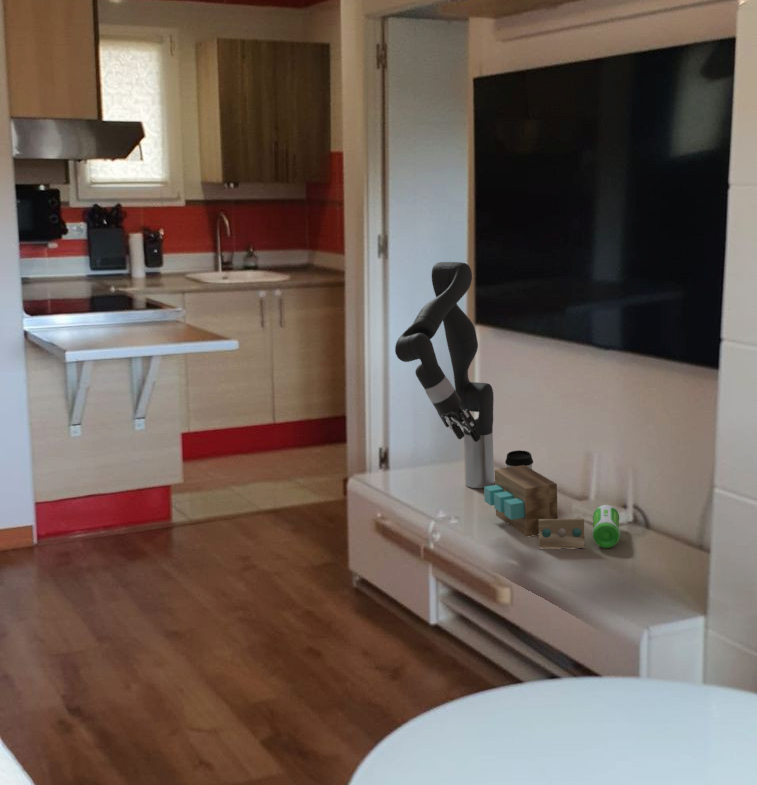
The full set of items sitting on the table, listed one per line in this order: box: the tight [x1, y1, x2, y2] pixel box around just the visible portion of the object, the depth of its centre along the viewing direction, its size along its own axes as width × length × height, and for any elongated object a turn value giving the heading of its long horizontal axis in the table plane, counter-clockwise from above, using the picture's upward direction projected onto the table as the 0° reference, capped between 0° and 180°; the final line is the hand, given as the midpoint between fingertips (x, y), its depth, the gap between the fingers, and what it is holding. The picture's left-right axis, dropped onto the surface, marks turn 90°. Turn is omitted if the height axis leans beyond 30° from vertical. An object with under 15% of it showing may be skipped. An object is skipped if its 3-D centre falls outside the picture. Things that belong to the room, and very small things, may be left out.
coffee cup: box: [505, 449, 534, 470], centre depth 353 cm, size 8×8×15 cm
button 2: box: [504, 498, 525, 520], centre depth 325 cm, size 6×4×4 cm
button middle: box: [493, 491, 514, 512], centre depth 331 cm, size 6×4×4 cm
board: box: [538, 518, 586, 550], centre depth 315 cm, size 5×12×8 cm, turn 83°
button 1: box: [483, 484, 504, 506], centre depth 338 cm, size 6×4×4 cm
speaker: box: [592, 504, 621, 549], centre depth 319 cm, size 18×7×8 cm, turn 169°
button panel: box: [494, 465, 559, 537], centre depth 333 cm, size 10×21×14 cm, turn 18°
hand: (469, 438), depth 337 cm, fingers open, 8 cm apart
